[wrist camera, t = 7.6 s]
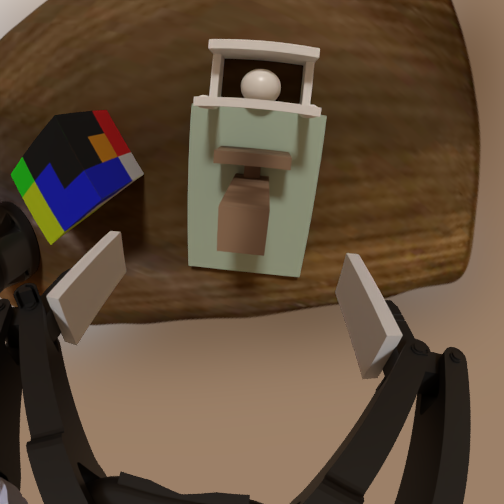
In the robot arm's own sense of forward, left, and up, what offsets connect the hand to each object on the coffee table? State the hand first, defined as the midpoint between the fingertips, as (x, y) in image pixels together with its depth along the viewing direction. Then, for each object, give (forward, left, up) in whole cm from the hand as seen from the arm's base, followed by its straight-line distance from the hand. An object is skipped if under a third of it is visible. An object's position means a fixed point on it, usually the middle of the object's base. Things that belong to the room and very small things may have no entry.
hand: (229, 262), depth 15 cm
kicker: (0, +1, -16) cm, 16 cm away
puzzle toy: (-20, +2, -18) cm, 27 cm away
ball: (0, +11, -15) cm, 19 cm away
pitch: (0, +2, -17) cm, 18 cm away
